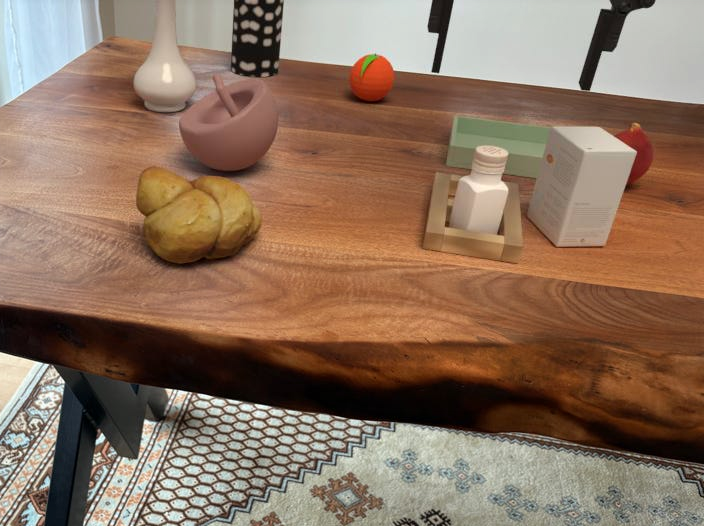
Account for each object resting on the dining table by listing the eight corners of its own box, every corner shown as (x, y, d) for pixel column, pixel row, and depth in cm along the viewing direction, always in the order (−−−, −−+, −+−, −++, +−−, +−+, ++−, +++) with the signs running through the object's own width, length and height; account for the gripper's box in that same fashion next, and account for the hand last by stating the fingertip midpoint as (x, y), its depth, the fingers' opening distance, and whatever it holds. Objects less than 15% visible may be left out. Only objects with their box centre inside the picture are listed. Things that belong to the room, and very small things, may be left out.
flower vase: (239, 116, 113) (250, -78, 99) (114, 122, 108) (106, -81, 94) (216, 91, 123) (223, -89, 109) (101, 95, 119) (92, -92, 104)
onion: (623, 177, 99) (645, 115, 94) (650, 195, 94) (675, 130, 90) (582, 178, 98) (602, 115, 94) (608, 196, 93) (630, 131, 89)
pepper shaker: (478, 227, 85) (499, 143, 79) (496, 243, 81) (520, 156, 76) (445, 229, 84) (464, 144, 78) (462, 246, 81) (484, 158, 75)
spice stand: (514, 199, 92) (518, 183, 90) (518, 264, 78) (523, 246, 77) (432, 187, 94) (435, 171, 92) (422, 248, 80) (426, 231, 79)
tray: (561, 148, 107) (567, 129, 105) (568, 183, 97) (575, 161, 95) (450, 134, 110) (454, 115, 109) (445, 166, 100) (450, 145, 98)
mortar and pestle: (171, 152, 100) (171, 60, 93) (260, 149, 102) (267, 59, 95) (187, 188, 90) (188, 89, 84) (285, 184, 92) (294, 87, 86)
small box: (605, 248, 82) (640, 151, 76) (554, 248, 81) (585, 151, 75) (571, 216, 88) (600, 125, 82) (524, 216, 88) (550, 124, 82)
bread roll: (245, 221, 83) (250, 149, 79) (282, 261, 76) (289, 184, 72) (130, 235, 79) (128, 160, 75) (157, 279, 72) (156, 199, 68)
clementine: (377, 111, 118) (385, 63, 114) (336, 102, 121) (342, 55, 116) (396, 99, 123) (404, 53, 119) (357, 91, 126) (363, 45, 122)
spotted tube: (243, 78, 130) (250, -56, 118) (223, 66, 136) (228, -63, 124) (286, 75, 133) (298, -56, 121) (265, 62, 139) (273, -63, 127)
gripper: (415, -208, 60) (372, 71, 73) (764, -191, 55) (656, 105, 67) (422, -204, 66) (381, 54, 78) (738, -189, 61) (642, 84, 73)
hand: (508, 78), depth 73 cm, fingers open, 13 cm apart
